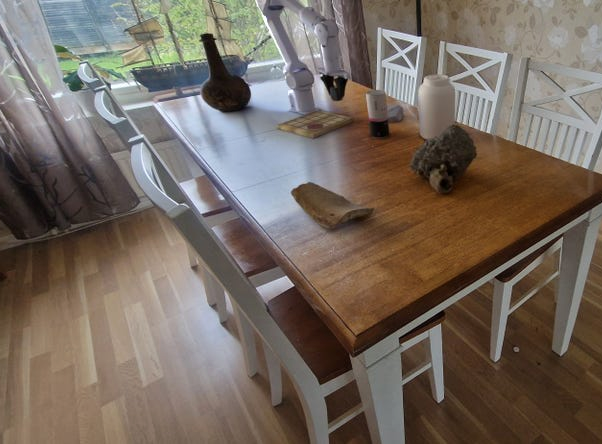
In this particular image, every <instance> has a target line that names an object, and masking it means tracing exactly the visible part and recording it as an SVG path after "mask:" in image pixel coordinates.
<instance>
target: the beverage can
mask: <svg viewBox="0 0 602 444" xmlns="http://www.w3.org/2000/svg"><path fill="white" fill-rule="evenodd" d="M365 98H366V106H367V117H368V125H369V134H370V137H372V138H373V139H385V138H388V137H389V136H390V125H389V122H388V112H387V107H388V101H387V93H386V91H385V90H382V89H370V90H367V91H366V94H365Z"/></svg>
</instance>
